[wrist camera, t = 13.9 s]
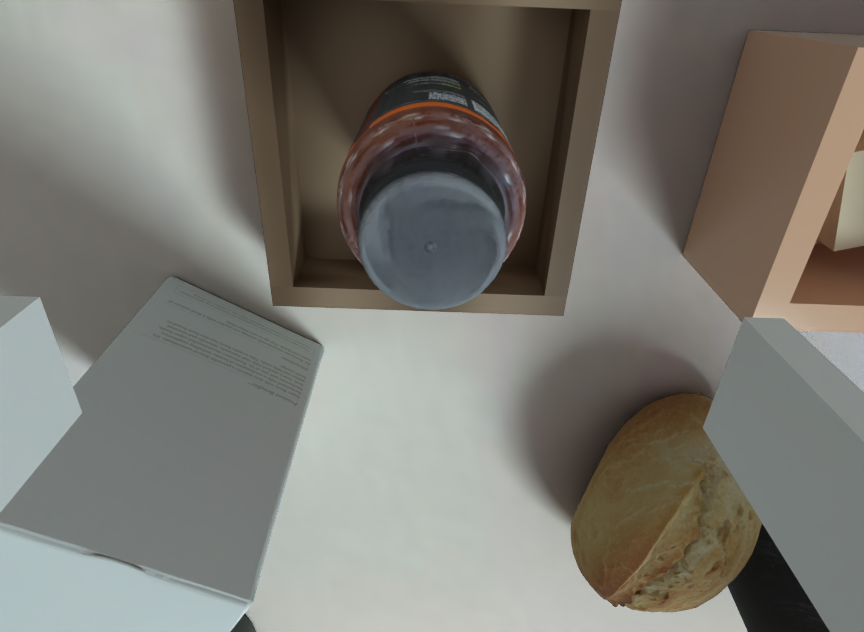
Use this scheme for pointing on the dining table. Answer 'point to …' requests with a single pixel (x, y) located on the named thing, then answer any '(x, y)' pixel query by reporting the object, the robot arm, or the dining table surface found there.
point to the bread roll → (663, 513)
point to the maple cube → (847, 207)
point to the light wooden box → (784, 183)
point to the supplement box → (161, 476)
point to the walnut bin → (372, 73)
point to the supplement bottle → (431, 192)
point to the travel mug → (772, 593)
